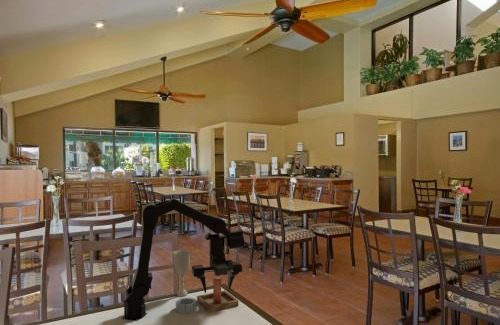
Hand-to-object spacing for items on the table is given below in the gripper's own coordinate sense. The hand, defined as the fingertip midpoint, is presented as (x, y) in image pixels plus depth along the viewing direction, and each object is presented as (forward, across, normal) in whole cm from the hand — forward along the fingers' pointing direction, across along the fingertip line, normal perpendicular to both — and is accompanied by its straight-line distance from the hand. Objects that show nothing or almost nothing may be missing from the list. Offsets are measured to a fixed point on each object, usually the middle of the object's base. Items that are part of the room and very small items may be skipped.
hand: (217, 291), depth 129 cm
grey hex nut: (+5, -12, -1) cm, 13 cm away
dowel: (+4, 0, 0) cm, 4 cm away
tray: (+5, 0, 0) cm, 5 cm away
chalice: (+5, -12, +13) cm, 18 cm away
